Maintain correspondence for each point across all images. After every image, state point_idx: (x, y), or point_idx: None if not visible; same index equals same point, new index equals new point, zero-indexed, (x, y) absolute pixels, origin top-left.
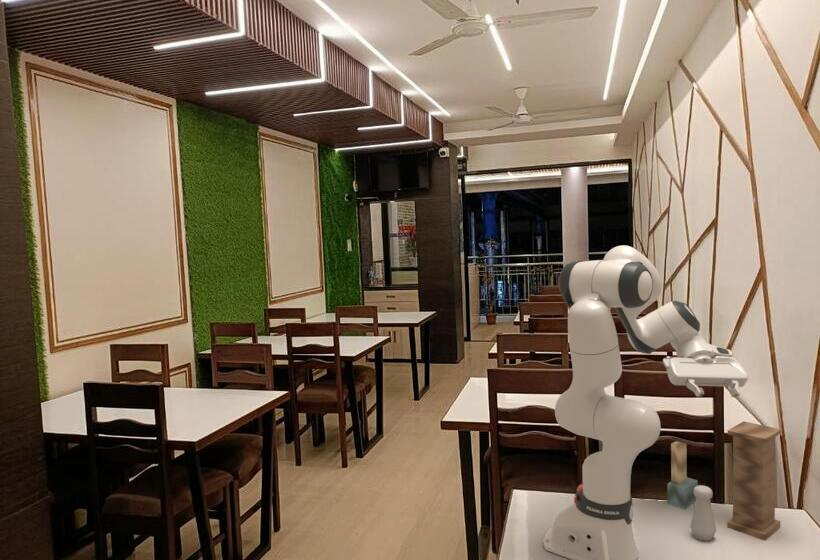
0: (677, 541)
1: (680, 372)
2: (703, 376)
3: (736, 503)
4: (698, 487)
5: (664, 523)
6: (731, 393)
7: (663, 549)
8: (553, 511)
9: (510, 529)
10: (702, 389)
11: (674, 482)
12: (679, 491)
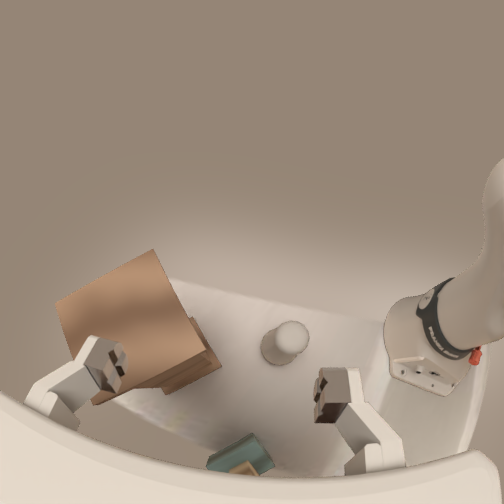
0: (321, 343)
1: (469, 487)
2: (281, 483)
3: (206, 356)
4: (301, 339)
5: (312, 396)
6: (117, 374)
7: (350, 326)
8: (438, 436)
9: (485, 386)
10: (327, 386)
11: (257, 468)
12: (260, 446)
